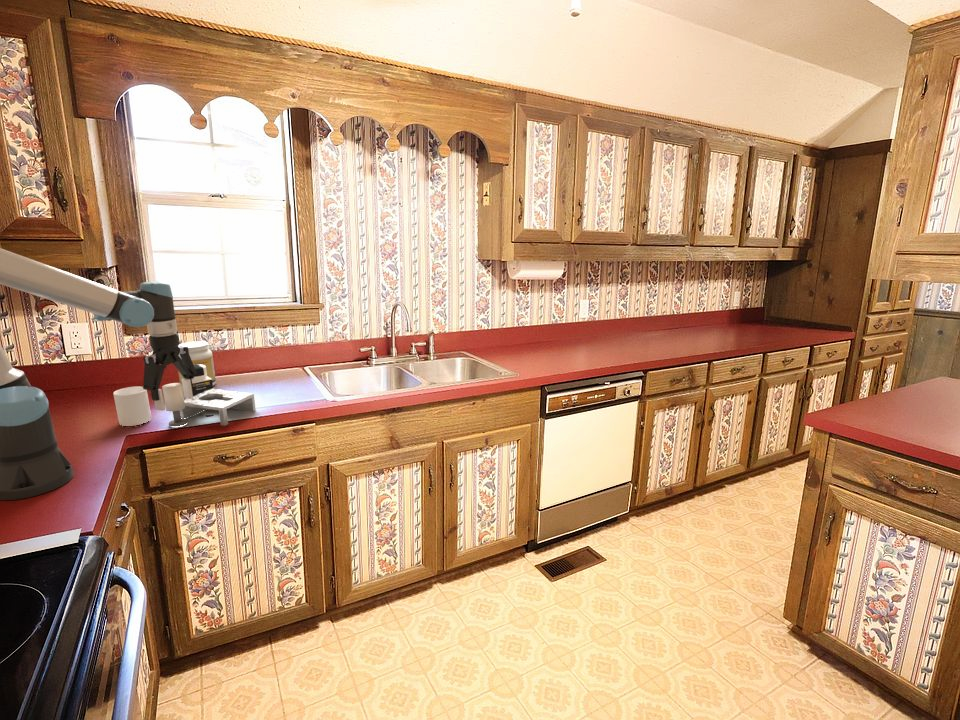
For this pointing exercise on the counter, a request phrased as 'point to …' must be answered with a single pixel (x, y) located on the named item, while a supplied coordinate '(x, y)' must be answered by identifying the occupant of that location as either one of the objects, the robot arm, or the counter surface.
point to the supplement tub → (200, 358)
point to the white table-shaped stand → (218, 403)
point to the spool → (174, 402)
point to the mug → (132, 406)
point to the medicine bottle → (201, 380)
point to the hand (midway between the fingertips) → (175, 403)
